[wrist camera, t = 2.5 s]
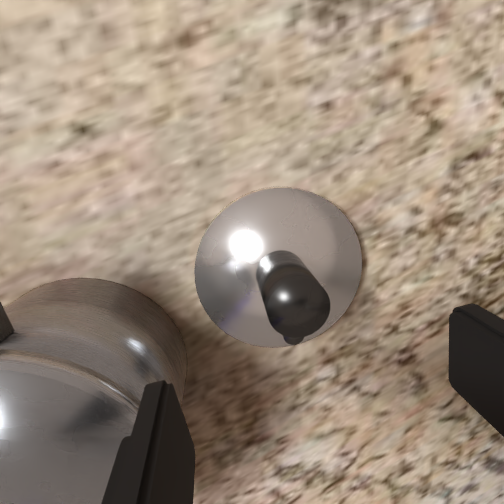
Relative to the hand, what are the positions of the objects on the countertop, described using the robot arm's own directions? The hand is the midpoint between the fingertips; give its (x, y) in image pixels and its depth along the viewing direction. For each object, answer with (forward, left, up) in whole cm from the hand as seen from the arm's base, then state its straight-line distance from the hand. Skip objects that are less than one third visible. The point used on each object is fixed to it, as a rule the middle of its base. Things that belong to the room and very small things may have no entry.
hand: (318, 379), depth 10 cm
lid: (-1, 0, -12) cm, 12 cm away
